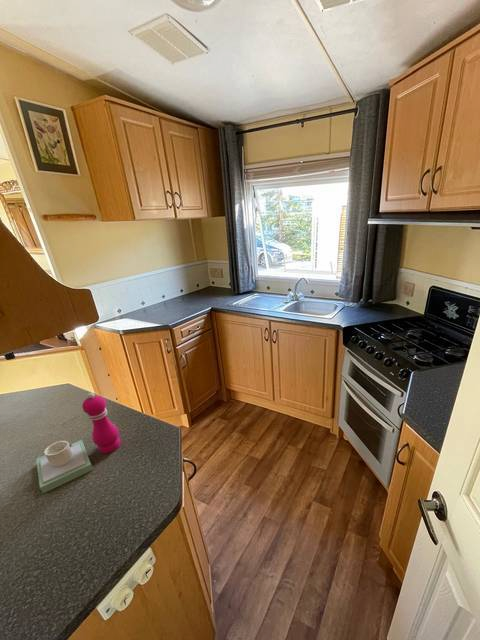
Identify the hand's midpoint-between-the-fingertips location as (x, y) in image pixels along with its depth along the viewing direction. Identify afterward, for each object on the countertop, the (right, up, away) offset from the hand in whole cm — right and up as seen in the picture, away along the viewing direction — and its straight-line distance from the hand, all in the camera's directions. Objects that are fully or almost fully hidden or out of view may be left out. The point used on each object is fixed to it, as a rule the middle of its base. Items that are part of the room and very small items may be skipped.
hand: (11, 354), depth 91 cm
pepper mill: (+31, -29, +1) cm, 43 cm away
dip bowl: (+21, -30, -7) cm, 38 cm away
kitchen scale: (+22, -33, -6) cm, 40 cm away
